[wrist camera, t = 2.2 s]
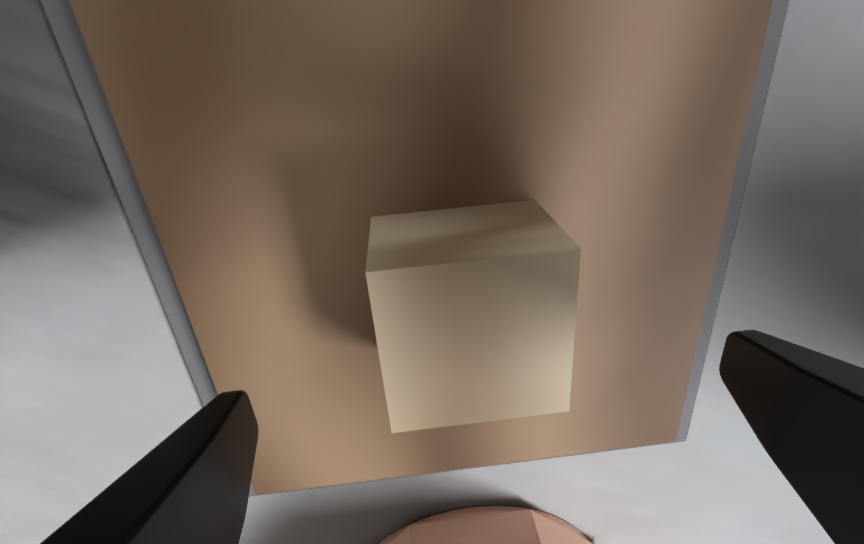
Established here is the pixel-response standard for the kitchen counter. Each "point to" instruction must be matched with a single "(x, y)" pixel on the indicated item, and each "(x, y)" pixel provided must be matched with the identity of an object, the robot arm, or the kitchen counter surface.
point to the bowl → (489, 528)
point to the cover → (436, 213)
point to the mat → (160, 271)
